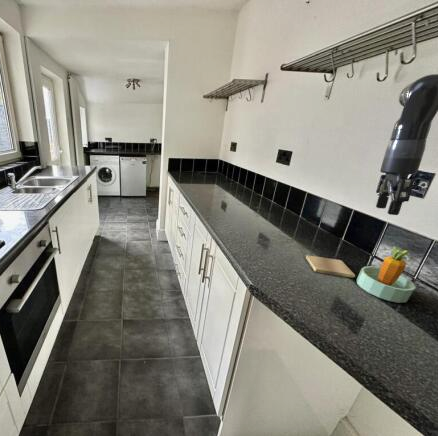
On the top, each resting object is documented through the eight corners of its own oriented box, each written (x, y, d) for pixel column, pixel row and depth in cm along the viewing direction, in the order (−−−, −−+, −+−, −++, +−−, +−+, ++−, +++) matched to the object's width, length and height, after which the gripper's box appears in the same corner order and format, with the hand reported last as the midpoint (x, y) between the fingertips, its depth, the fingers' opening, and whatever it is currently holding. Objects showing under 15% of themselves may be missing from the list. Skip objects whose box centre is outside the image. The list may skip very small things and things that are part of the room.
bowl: (390, 282, 79) (397, 270, 77) (418, 307, 68) (427, 293, 66) (348, 275, 81) (354, 263, 80) (369, 298, 70) (376, 285, 69)
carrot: (368, 282, 77) (387, 243, 72) (387, 287, 75) (409, 246, 70) (374, 291, 73) (394, 250, 68) (394, 296, 71) (418, 254, 66)
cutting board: (340, 262, 89) (341, 260, 89) (354, 278, 80) (355, 275, 80) (305, 257, 92) (306, 255, 91) (315, 271, 83) (316, 268, 83)
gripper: (436, 157, 58) (416, 218, 63) (407, 155, 70) (392, 207, 75) (396, 157, 61) (379, 215, 66) (375, 155, 74) (362, 205, 78)
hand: (386, 211), depth 71 cm, fingers open, 8 cm apart
